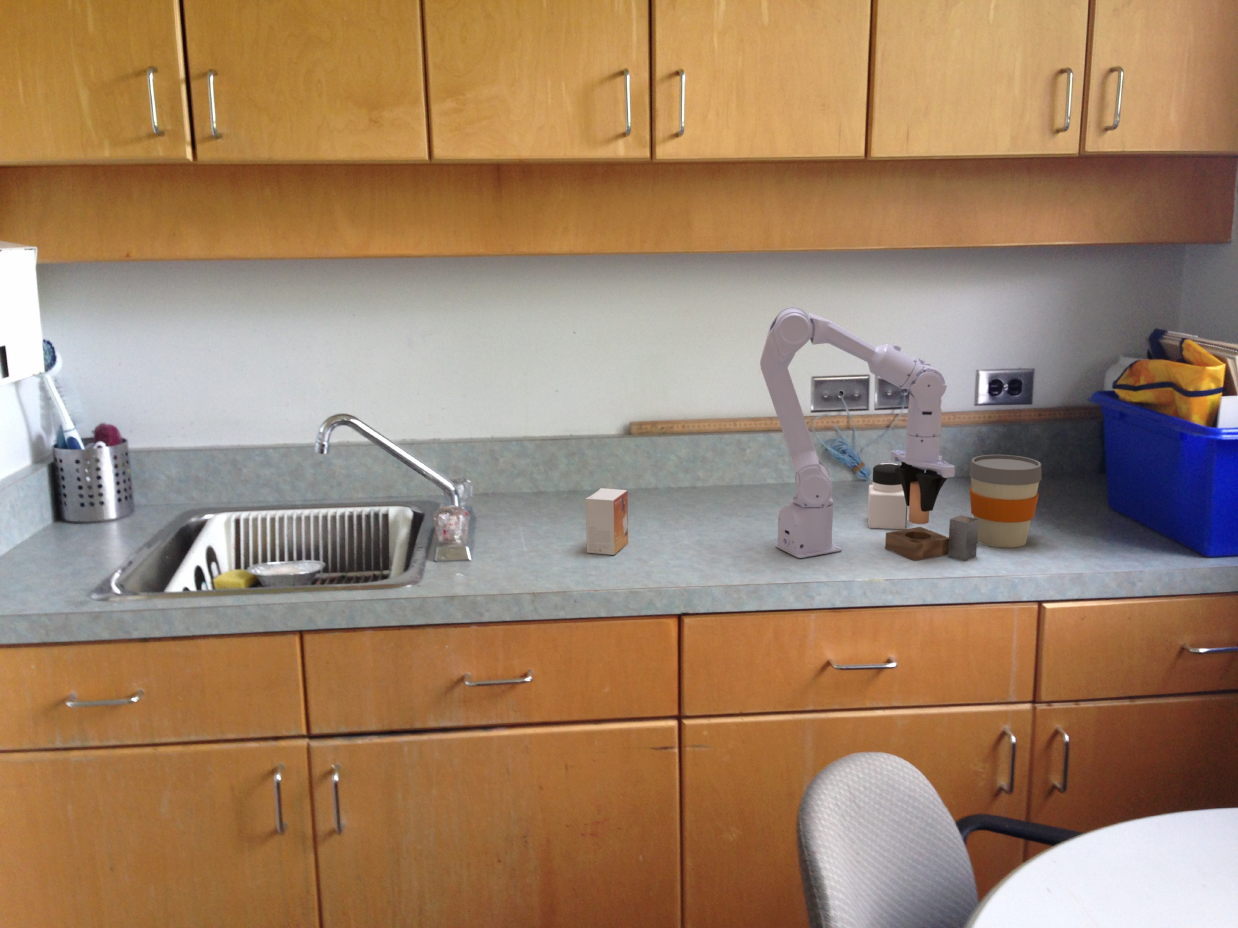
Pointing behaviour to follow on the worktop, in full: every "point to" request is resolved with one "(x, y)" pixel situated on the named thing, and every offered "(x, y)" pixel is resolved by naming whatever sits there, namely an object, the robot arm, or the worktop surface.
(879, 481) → the medicine bottle
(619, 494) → the small box
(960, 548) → the square bit
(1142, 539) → the worktop surface
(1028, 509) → the reusable coffee cup
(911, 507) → the round bit
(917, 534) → the bore block
